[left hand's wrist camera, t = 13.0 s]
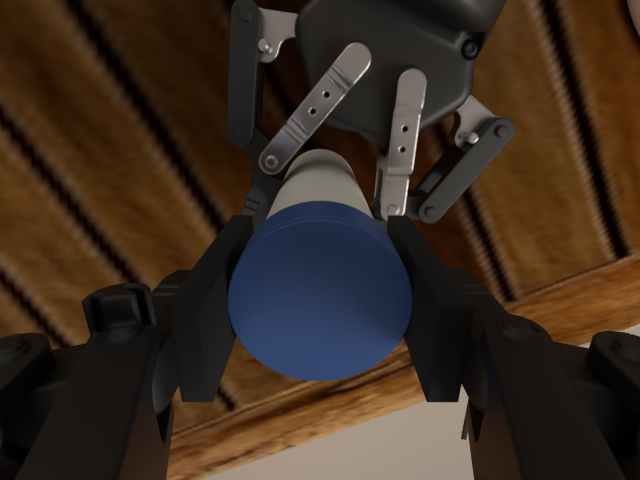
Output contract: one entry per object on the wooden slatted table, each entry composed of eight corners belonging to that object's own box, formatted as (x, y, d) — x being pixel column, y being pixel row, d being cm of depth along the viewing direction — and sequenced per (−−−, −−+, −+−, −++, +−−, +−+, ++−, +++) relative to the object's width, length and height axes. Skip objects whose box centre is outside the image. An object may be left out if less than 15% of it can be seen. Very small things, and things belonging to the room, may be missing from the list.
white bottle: (336, 226, 26) (357, 384, 12) (275, 200, 26) (217, 334, 11) (366, 166, 25) (431, 262, 10) (301, 137, 24) (273, 194, 9)
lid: (379, 350, 13) (388, 391, 11) (235, 330, 13) (220, 369, 11) (417, 214, 11) (435, 236, 9) (249, 187, 11) (234, 205, 9)
